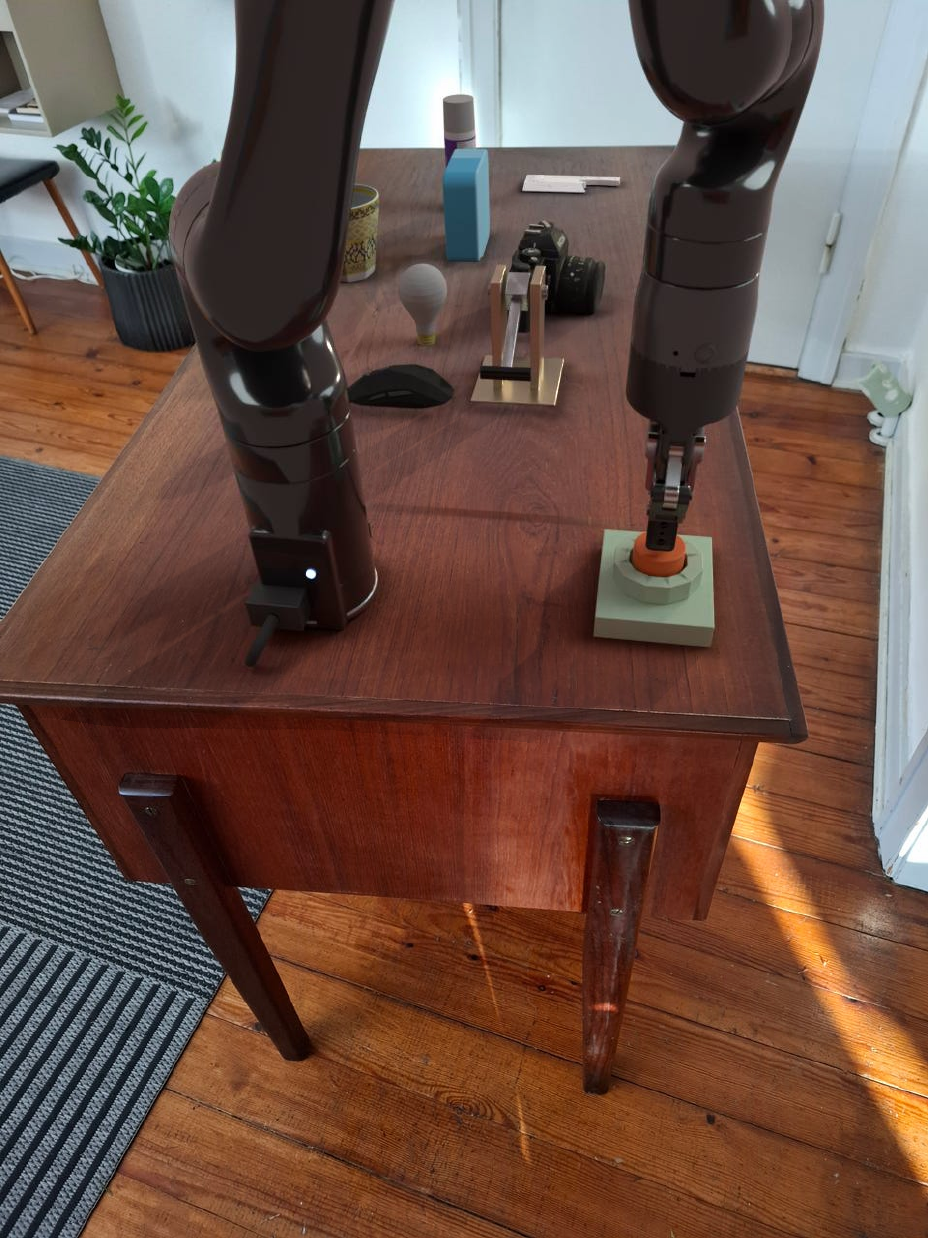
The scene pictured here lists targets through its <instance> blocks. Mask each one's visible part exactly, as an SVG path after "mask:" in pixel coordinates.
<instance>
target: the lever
mask: <svg viewBox="0 0 928 1238" xmlns="http://www.w3.org/2000/svg"><path fill="white" fill-rule="evenodd" d="M530 284H531V281H530V273H521V272H509V271H508V273H507V285H506V291H505V298H506V307H507V311H508V310H509V316H508V315H507V329H506V336H505V342H504V349H503V355H502V362H501V366H485V365H480V368H479V373H480V379H486V380H507V381H527V382H531V380H532V368H528V367H513V365H514V358H515V356H516V351H517V344H518V338H519V332H518V331H519V324H520V317H521V311H528V307H529V300H530Z"/></svg>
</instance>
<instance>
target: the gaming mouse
mask: <svg viewBox="0 0 928 1238" xmlns="http://www.w3.org/2000/svg"><path fill="white" fill-rule="evenodd" d="M348 393H349V400H350V403H352V404H355V405H359V406H367V407H379V408H380V407H381V408H400V409H429V408H434V407H439V406H442V405H445V404H446V403H448V401H450V400H452V399H453V397H454V393H455V388H454V387H453V386H452V385H451V384H450V383H449V382H448V381H447V380H446V379H444V377H442V376H441V375H440V374H439V373H437V372H436V371H435V370H434V369H433V368H430V367H427V366H423V365H420V364H418V363H409V364H407V363H405V364H393V365H389V366H386V367H385V366H384V367H382V368H381V367H380V368H378V369H374V370H372V371H370V372H364V373H363V374H362V375H361V377H360V378H359V379H357V380H356V381H355V382H354V383H352V384H351V385H350V386H348Z"/></svg>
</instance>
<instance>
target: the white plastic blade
mask: <svg viewBox="0 0 928 1238" xmlns="http://www.w3.org/2000/svg"><path fill="white" fill-rule="evenodd" d="M620 184H621V177H620V176H585V175H583V176H579V175H542V174H527V175H526V176H525V179H524V181H523V186H522V190H521V191H522V192H540V193H541V192H542V193H543V192H545V193H549V192H550V193H581V194H583V193H586V190H585V189H586V188H587V186H612V187H620Z"/></svg>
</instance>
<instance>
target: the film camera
mask: <svg viewBox="0 0 928 1238" xmlns="http://www.w3.org/2000/svg"><path fill="white" fill-rule="evenodd" d="M569 247H570V242H569V237H568V235H567V234H566V233H565V231H564V230H563V229H562V228H559V227H557V226H555V223H554V222H552V221H549V220H541V221H539V222H538V223H537V224H533V223H529V225H528V226H527V227H526V229H525V230H524V232H523V236H522V238H521V239H520V240H519V244H518V247H517V249H515V251H514V254H513V255H512V257H511V266H510V269H509V271H508V273H509V272H521V273H530V281H531V280H532V277H533V274H534V270H535V267H536V266H545V285H548V299H547V300H545V314H556V312H561V313H562V312H565V313H573V314H581V315H582V314H590V315H594V314H596V312H597V311H598V309H599V307H600V305H601V301H602V298H603V293H604V285H605V279H606V263H605V261H604V260H599V261H597V262H596V260H595V259H594V257H589V256H580V255H579V256H578V255H571V254H570V255H569ZM508 316H509V310H507V317H508ZM518 333H521V334H522V333H524V334H527V333H530V300H529V307H528V311H521V317H520V324H519V331H518Z"/></svg>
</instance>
